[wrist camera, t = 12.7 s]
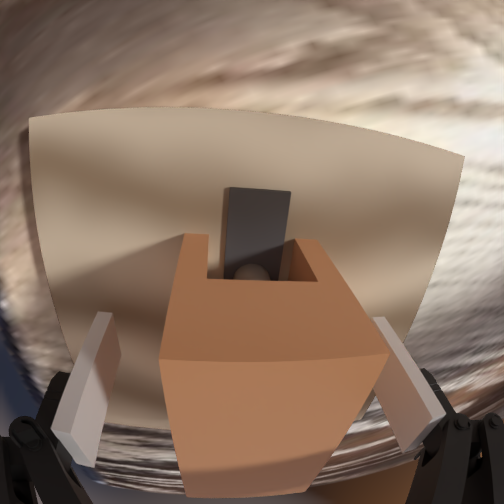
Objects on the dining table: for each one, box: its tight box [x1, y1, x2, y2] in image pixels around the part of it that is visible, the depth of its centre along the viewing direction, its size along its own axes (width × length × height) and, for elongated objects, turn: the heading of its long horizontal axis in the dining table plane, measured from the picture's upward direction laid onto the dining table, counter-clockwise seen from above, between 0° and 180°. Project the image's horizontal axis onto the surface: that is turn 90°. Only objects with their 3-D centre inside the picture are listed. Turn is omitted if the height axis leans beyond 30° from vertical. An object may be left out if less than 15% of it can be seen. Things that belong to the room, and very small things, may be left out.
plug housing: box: [159, 233, 390, 498], centre depth 12 cm, size 10×6×7 cm, turn 174°
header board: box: [29, 107, 465, 430], centre depth 14 cm, size 20×20×4 cm
